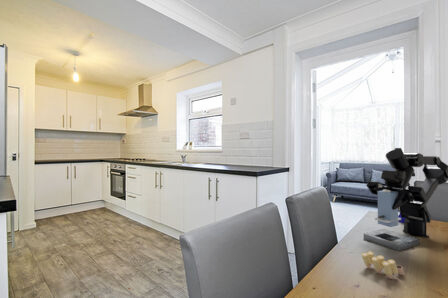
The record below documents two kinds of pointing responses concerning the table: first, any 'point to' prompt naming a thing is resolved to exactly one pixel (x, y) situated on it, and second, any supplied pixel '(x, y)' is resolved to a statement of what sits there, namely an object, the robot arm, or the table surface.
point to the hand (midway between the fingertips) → (385, 207)
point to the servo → (387, 208)
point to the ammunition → (382, 264)
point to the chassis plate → (397, 239)
